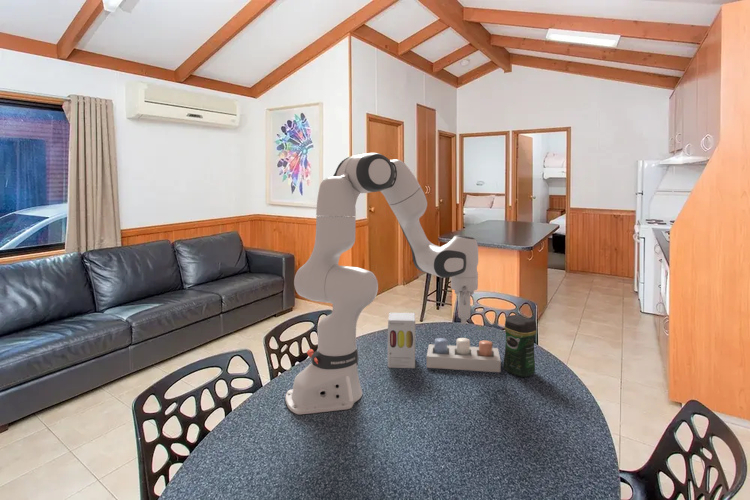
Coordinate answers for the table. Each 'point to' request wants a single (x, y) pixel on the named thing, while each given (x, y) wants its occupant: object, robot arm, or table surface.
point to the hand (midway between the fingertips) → (463, 323)
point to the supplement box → (401, 340)
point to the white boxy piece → (463, 360)
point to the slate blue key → (440, 346)
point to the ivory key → (463, 345)
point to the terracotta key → (485, 348)
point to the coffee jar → (519, 346)
